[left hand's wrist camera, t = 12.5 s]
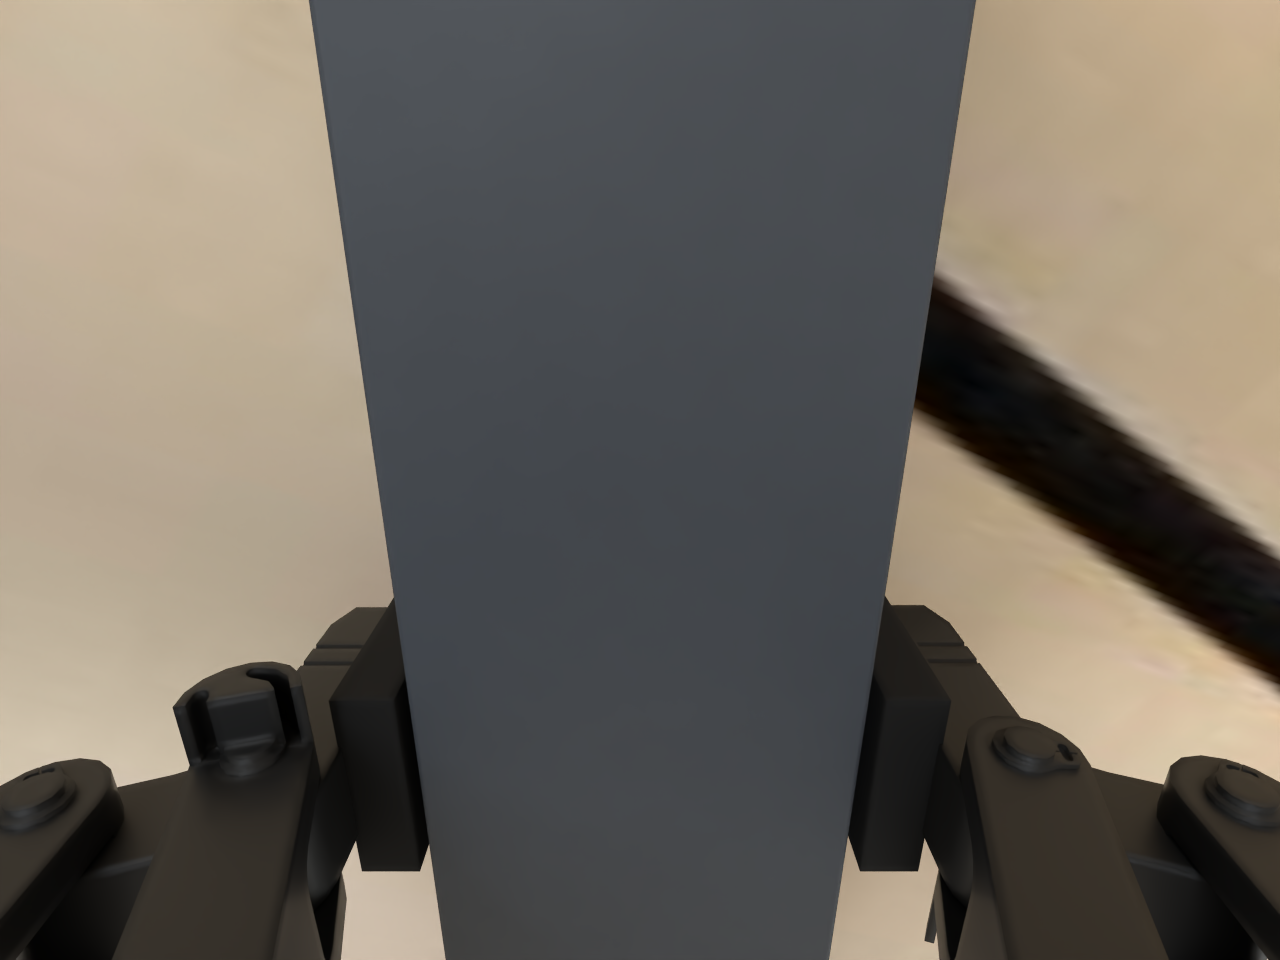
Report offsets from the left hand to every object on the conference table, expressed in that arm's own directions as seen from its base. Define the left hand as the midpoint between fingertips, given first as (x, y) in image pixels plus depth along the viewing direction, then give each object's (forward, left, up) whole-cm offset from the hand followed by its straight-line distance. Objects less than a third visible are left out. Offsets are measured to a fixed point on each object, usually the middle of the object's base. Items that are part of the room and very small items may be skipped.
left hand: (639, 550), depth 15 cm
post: (+10, +30, -2) cm, 32 cm away
